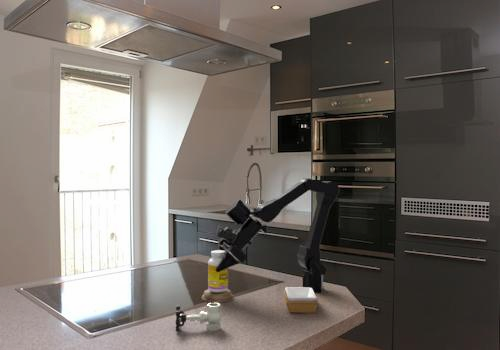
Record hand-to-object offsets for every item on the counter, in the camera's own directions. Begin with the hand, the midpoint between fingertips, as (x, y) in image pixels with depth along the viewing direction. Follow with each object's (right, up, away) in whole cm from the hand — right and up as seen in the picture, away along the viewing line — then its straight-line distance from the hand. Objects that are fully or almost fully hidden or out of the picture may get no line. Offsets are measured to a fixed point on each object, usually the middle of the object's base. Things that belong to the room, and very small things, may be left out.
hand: (214, 268), depth 136 cm
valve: (-2, -10, -27) cm, 29 cm away
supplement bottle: (+1, -7, 0) cm, 7 cm away
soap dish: (+27, -10, -8) cm, 30 cm away
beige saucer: (+1, -10, 0) cm, 10 cm away
